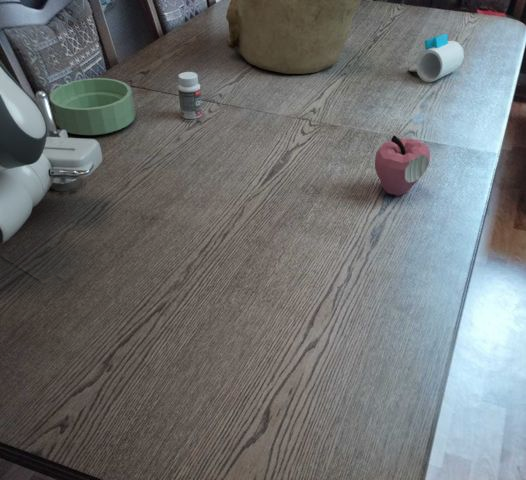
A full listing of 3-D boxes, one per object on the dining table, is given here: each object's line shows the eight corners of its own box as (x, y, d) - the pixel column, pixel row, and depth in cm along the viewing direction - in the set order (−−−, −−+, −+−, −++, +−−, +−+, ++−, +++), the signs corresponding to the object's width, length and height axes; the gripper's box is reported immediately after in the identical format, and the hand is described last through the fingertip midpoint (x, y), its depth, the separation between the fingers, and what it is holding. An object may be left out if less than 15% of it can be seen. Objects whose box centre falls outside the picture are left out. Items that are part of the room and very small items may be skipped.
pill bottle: (201, 119, 120) (198, 79, 114) (179, 119, 120) (175, 79, 114) (203, 110, 123) (200, 71, 117) (182, 110, 123) (178, 71, 117)
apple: (387, 208, 95) (397, 153, 88) (360, 185, 101) (368, 131, 93) (432, 196, 98) (445, 141, 91) (403, 174, 103) (414, 121, 96)
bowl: (41, 124, 118) (33, 95, 114) (101, 99, 127) (95, 72, 123) (92, 146, 111) (85, 116, 107) (151, 118, 120) (147, 90, 116)
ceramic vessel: (265, 26, 165) (265, -78, 147) (385, 59, 146) (403, -56, 128) (195, 51, 150) (187, -62, 132) (320, 92, 131) (329, -34, 112)
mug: (466, 26, 133) (439, 37, 127) (470, 66, 138) (444, 79, 132) (423, 37, 142) (397, 48, 136) (428, 75, 146) (403, 87, 140)
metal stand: (43, 184, 100) (14, 92, 89) (68, 172, 103) (43, 81, 92) (63, 194, 98) (36, 101, 86) (87, 182, 101) (64, 89, 89)
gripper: (82, 157, 82) (109, 117, 92) (-49, 150, 84) (-9, 112, 93) (91, 194, 87) (116, 153, 96) (-33, 187, 88) (4, 147, 98)
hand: (54, 133), depth 95 cm, fingers closed on metal stand
